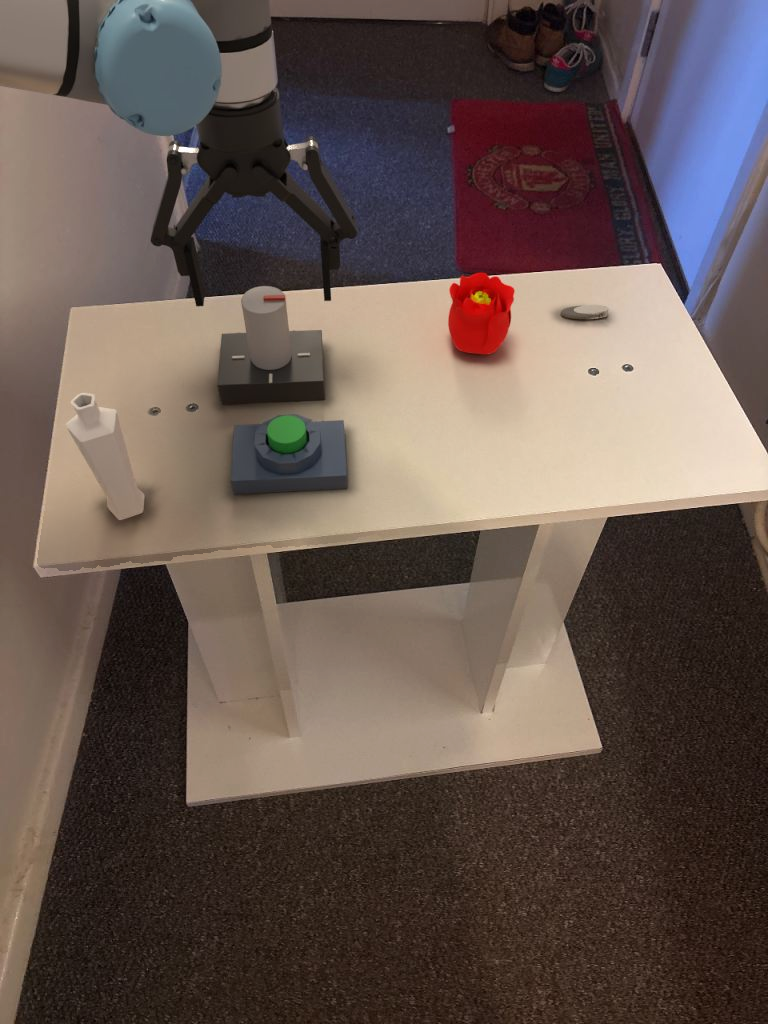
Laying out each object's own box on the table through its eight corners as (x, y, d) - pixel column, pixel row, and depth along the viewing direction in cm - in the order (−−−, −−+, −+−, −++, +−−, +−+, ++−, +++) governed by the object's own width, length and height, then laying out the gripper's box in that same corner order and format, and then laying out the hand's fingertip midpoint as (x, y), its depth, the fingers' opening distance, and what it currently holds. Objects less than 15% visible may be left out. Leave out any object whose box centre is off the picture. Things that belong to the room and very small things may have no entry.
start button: (268, 455, 78) (266, 444, 76) (269, 427, 80) (267, 415, 79) (307, 453, 78) (305, 442, 77) (306, 425, 80) (305, 414, 79)
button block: (233, 494, 79) (227, 469, 76) (236, 438, 84) (231, 413, 81) (347, 488, 80) (346, 463, 77) (344, 433, 85) (343, 408, 82)
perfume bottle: (143, 481, 80) (103, 376, 68) (154, 511, 78) (114, 407, 66) (100, 495, 79) (51, 391, 67) (109, 526, 77) (61, 423, 65)
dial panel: (221, 404, 87) (216, 384, 85) (225, 352, 93) (221, 332, 90) (324, 399, 88) (323, 379, 85) (322, 348, 93) (321, 328, 91)
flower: (517, 340, 95) (528, 287, 88) (487, 375, 91) (495, 321, 85) (463, 317, 97) (470, 264, 91) (432, 350, 94) (436, 296, 87)
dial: (249, 371, 86) (239, 311, 80) (251, 343, 89) (241, 284, 83) (291, 369, 87) (285, 310, 80) (291, 341, 89) (285, 282, 83)
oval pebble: (560, 322, 98) (561, 315, 97) (559, 310, 99) (560, 303, 98) (608, 321, 97) (610, 314, 96) (606, 309, 98) (607, 302, 98)
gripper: (377, 66, 67) (377, 270, 84) (93, 73, 66) (151, 279, 83) (383, 105, 63) (382, 312, 80) (78, 114, 61) (143, 323, 78)
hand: (264, 296), depth 81 cm, fingers open, 13 cm apart
